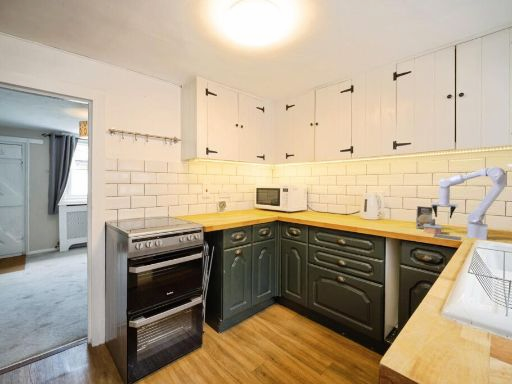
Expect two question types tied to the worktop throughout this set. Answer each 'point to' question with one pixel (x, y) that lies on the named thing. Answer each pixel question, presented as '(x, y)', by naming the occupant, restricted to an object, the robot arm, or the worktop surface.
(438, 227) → the lid
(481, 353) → the worktop surface
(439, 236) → the mat
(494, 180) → the robot arm
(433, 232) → the bowl
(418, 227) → the coffee box
